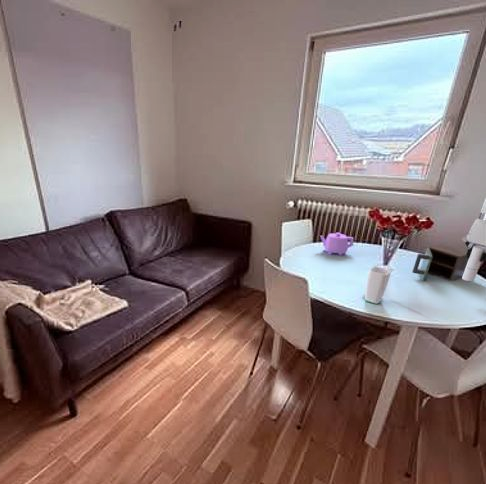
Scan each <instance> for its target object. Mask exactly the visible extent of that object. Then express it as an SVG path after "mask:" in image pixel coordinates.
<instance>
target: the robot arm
mask: <svg viewBox="0 0 486 484" xmlns="http://www.w3.org/2000/svg"><path fill="white" fill-rule="evenodd" d="M468 231H469V232H468V234H466V235H465V236H464V237H462V238H461V241H463V243H464V244H465V245H466V248H467V251H466V252H467V254H466V255H467V257H466V258H469V257H470V254H471V252H472V249H473V246H477V245H479V246H483V247H485V251H484V253H482V255H481V258H480V262H481V263H482V262H483V263H484V262H485V261H486V197H485V198H484V201H483V204H482V207H481V209H480V213H479V216H478V218H476V219H475V220H474V222H473V224H472V225H471V227H470V229H469V230H468Z"/></svg>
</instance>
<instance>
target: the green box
mask: <svg viewBox="0 0 486 484" xmlns="http://www.w3.org/2000/svg"><path fill="white" fill-rule="evenodd" d="M421 260H422V262H421ZM431 260H432V254H431V251H430V249H429V247H426V250H425V253H424V254H423V253H417V256H416V259H415V262H414V266H413V269H412V273H413V274H418V275H420V279H421V280H422V281H423V282H425V281H426V279H427V274H428V273H427V272H428V269H429V266H430V263H431ZM420 263H421V264H420ZM419 266H420V268H419Z"/></svg>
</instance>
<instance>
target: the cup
mask: <svg viewBox="0 0 486 484" xmlns="http://www.w3.org/2000/svg"><path fill="white" fill-rule="evenodd" d="M391 273H392V270H390V269H388V268H384V267H380V266H372V267H371V268H370V269H369V271H368V276H367V280H366V285H365V291H364V300H365V301H366V302H368V303H372V304H374V305H377V304H379V303H380V302H381V301H382V299H383V297H384V295H385V292H386V290H387V286H388V283H389V281H390V277H391Z"/></svg>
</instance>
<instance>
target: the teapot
mask: <svg viewBox="0 0 486 484" xmlns="http://www.w3.org/2000/svg"><path fill="white" fill-rule="evenodd" d="M319 236H320V237H319V238H320V240H321V242H322V244H323V246H324V250H325V252H327V254H328V255H333V254H338V255H339V256H343V254H346V253H347V252H348V250H349V248H352V247H353V246H354V237H353V236H347V235H346V234H344V233H341V232H335V233H328V234H327V237H326V238H325V237H324V235H319ZM348 241H349V242H348Z"/></svg>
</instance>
